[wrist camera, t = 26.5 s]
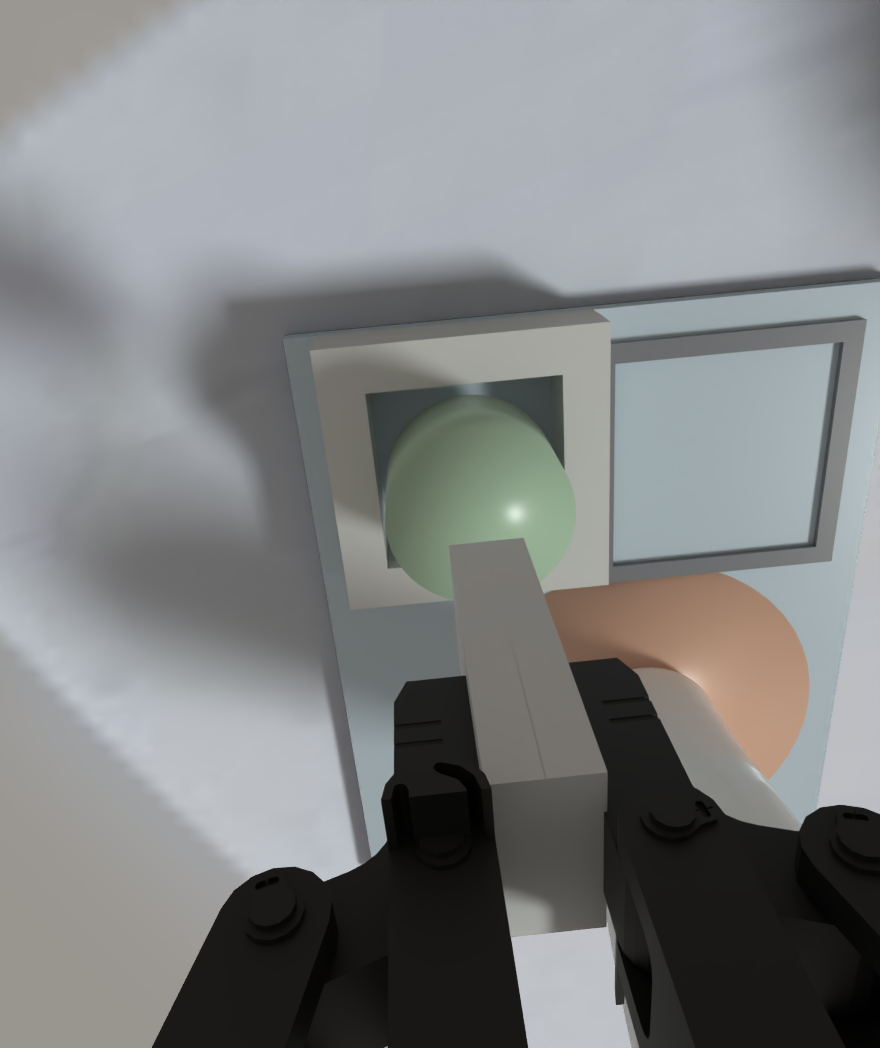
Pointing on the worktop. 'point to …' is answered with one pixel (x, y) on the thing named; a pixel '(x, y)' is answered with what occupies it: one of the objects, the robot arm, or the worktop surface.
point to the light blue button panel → (668, 519)
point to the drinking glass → (709, 762)
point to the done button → (474, 488)
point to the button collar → (454, 359)
